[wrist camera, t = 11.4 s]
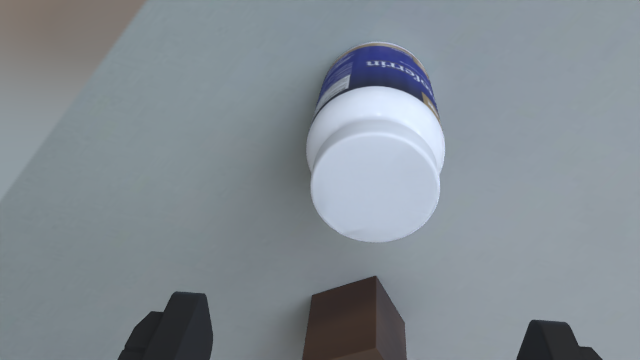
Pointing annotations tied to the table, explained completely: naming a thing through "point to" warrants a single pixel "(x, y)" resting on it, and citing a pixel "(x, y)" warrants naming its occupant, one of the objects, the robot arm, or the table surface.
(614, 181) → the table surface
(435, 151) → the pill bottle
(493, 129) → the table surface
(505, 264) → the table surface
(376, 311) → the walnut block
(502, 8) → the table surface
